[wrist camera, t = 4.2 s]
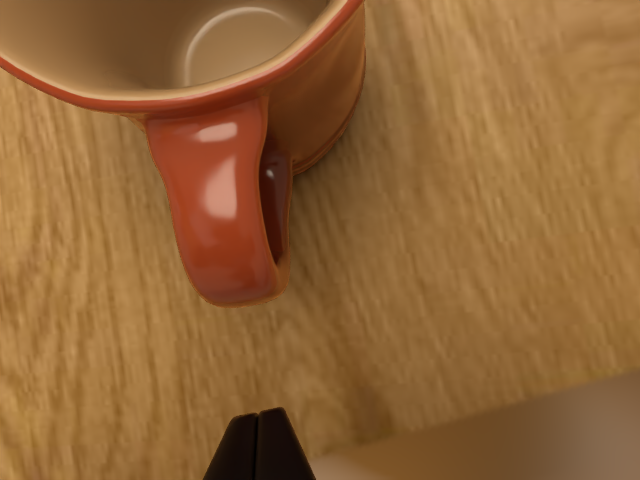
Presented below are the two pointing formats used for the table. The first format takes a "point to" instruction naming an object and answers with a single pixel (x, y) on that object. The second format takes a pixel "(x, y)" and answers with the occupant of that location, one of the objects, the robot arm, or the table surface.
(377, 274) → the table surface
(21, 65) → the mug
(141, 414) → the table surface
